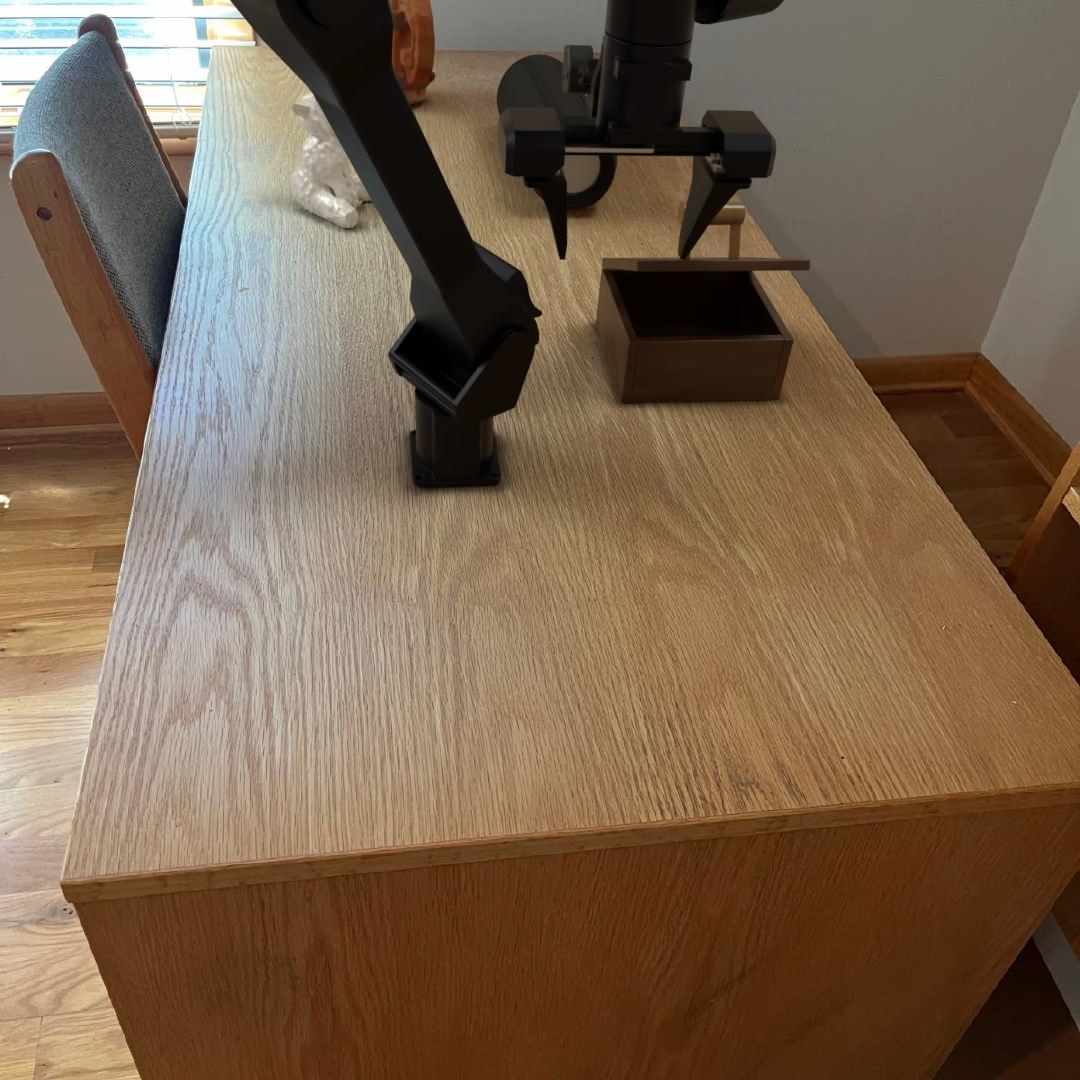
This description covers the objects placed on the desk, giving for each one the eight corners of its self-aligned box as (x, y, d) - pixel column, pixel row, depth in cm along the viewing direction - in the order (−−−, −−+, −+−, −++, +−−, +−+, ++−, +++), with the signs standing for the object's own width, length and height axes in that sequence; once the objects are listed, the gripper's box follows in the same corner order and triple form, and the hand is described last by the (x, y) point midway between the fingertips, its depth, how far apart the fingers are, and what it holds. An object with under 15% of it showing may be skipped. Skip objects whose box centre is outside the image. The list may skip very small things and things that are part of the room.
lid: (809, 270, 79) (814, 199, 77) (637, 271, 77) (639, 198, 76) (751, 266, 92) (754, 205, 90) (601, 267, 90) (602, 204, 88)
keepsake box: (778, 399, 86) (794, 339, 82) (621, 403, 84) (629, 341, 81) (738, 323, 96) (750, 266, 92) (595, 325, 94) (601, 267, 90)
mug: (360, 91, 137) (353, -35, 127) (417, 86, 140) (415, -38, 130) (396, 130, 127) (391, -3, 117) (457, 123, 130) (458, -7, 120)
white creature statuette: (351, 232, 105) (343, 112, 97) (274, 218, 106) (260, 99, 99) (386, 197, 112) (382, 83, 104) (314, 184, 113) (303, 70, 105)
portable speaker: (492, 132, 128) (494, 47, 122) (569, 131, 130) (575, 47, 124) (528, 220, 110) (534, 125, 103) (618, 217, 112) (628, 124, 105)
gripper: (751, 3, 74) (714, 211, 84) (493, -5, 71) (488, 211, 81) (800, 51, 65) (753, 275, 76) (510, 44, 63) (502, 277, 73)
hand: (621, 257), depth 77 cm, fingers open, 9 cm apart
